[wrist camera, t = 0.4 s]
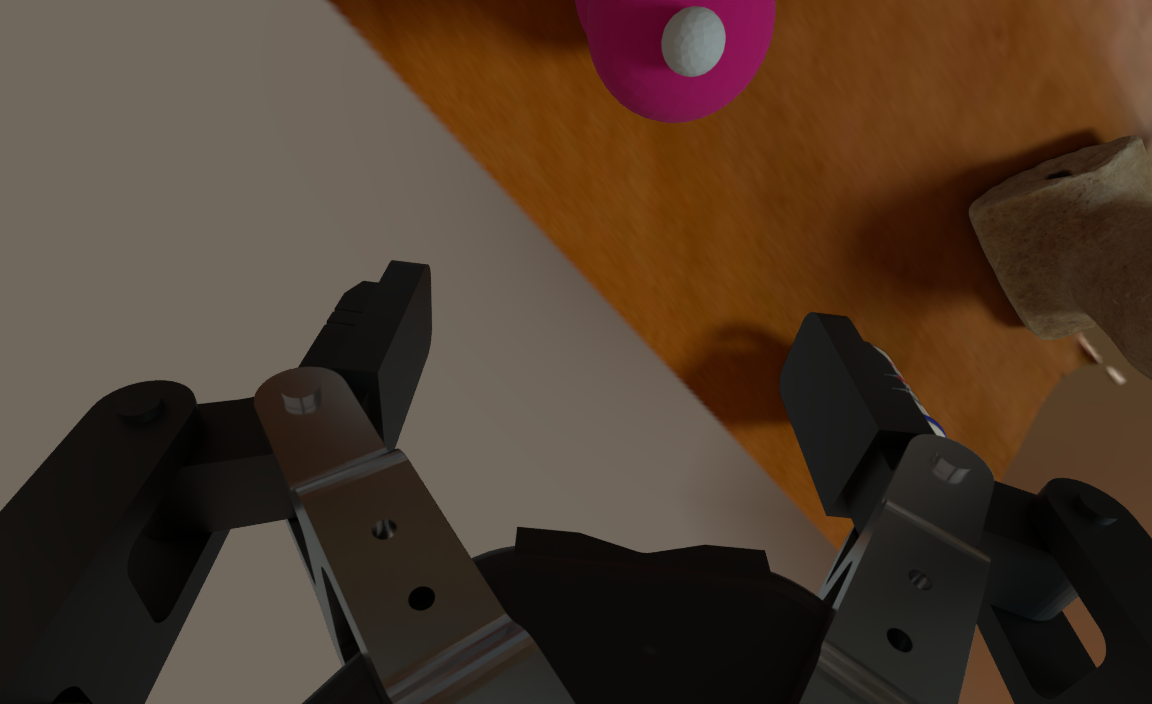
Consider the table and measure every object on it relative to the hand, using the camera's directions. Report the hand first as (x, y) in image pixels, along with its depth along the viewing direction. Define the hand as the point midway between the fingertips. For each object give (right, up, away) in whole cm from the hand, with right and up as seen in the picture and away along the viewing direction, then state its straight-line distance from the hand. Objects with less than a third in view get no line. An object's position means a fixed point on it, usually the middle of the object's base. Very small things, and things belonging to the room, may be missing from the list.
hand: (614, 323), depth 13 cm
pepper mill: (+3, +20, +20) cm, 28 cm away
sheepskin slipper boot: (+33, +8, +28) cm, 44 cm away
